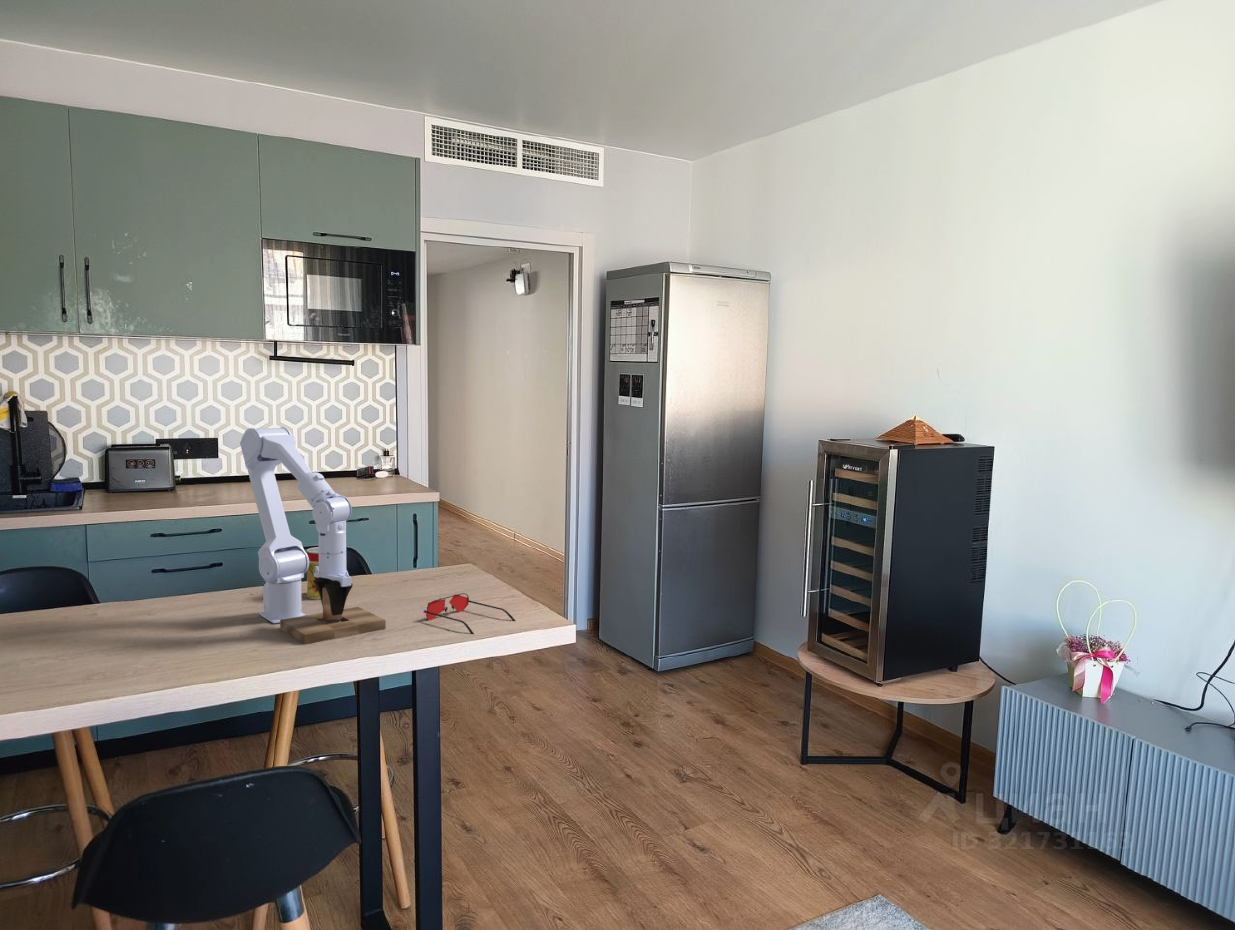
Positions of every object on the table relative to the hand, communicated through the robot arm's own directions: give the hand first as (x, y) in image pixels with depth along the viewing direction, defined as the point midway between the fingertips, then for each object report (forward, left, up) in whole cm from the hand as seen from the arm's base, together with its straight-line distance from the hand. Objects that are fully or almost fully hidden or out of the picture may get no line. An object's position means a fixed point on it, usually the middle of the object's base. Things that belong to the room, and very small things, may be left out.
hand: (333, 612), depth 181 cm
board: (0, 0, -4) cm, 4 cm away
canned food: (-29, +10, -4) cm, 31 cm away
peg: (0, 0, -3) cm, 4 cm away
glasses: (+13, +27, -4) cm, 30 cm away
